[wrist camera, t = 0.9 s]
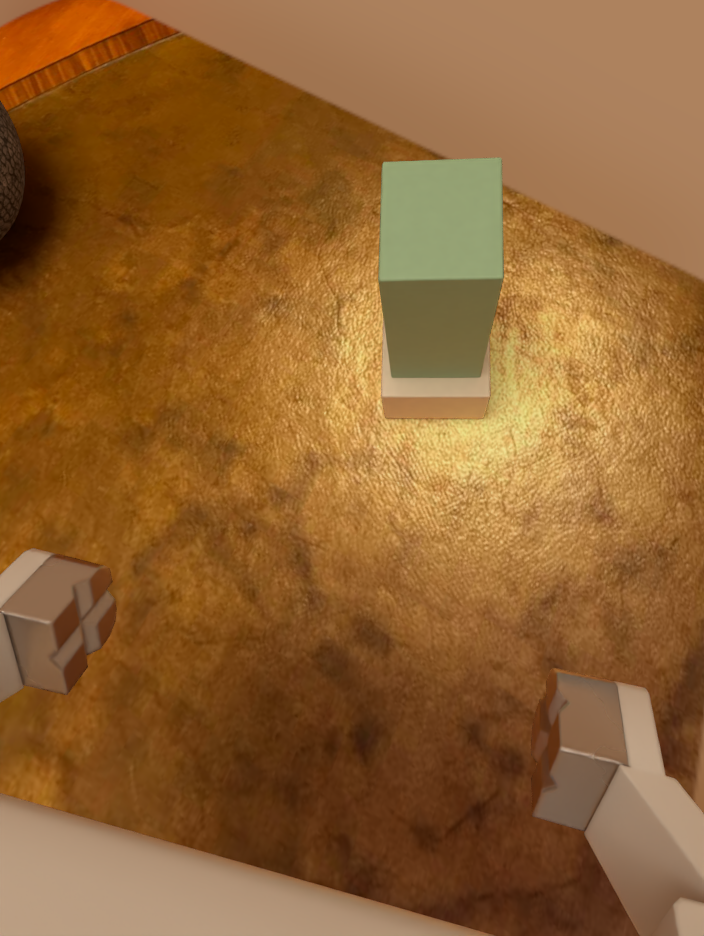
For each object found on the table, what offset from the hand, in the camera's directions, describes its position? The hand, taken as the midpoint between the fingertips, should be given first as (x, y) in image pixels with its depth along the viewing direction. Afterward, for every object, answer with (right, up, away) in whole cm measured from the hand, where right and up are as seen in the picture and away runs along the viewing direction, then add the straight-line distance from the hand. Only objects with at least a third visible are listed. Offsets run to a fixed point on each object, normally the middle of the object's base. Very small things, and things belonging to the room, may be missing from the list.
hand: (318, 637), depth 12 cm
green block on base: (+4, +8, +18) cm, 20 cm away
